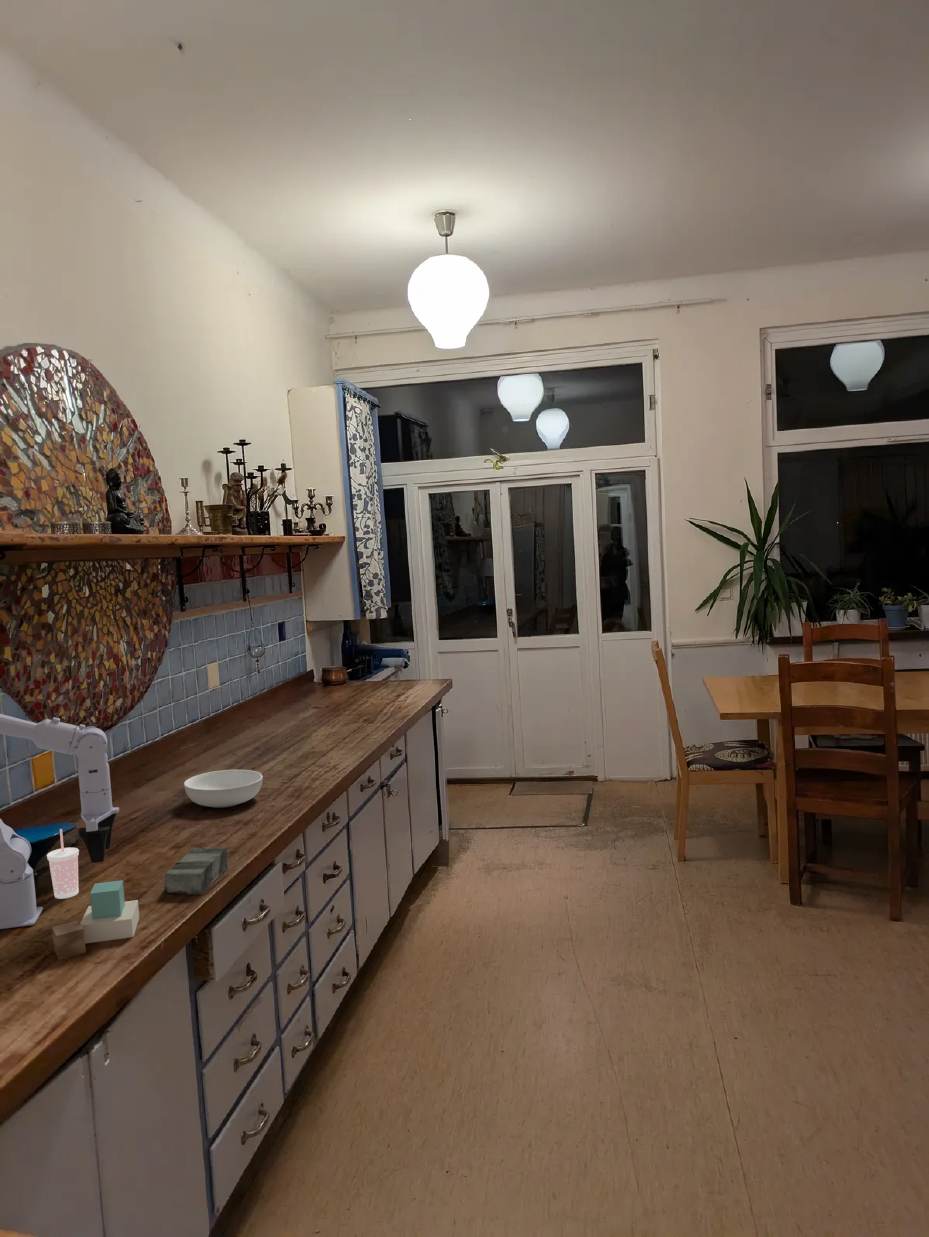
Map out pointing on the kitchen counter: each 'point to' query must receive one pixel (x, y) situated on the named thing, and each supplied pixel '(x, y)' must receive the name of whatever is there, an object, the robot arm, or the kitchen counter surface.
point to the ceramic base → (111, 924)
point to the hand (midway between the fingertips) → (101, 855)
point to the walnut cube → (68, 939)
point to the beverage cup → (64, 870)
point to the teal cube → (107, 899)
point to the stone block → (196, 871)
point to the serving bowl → (223, 787)
